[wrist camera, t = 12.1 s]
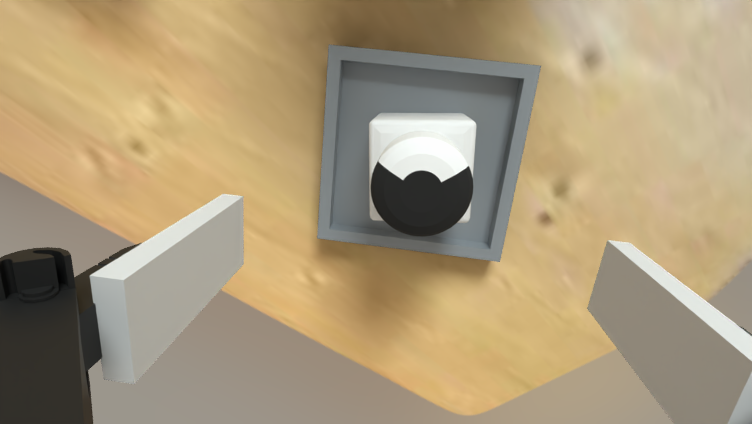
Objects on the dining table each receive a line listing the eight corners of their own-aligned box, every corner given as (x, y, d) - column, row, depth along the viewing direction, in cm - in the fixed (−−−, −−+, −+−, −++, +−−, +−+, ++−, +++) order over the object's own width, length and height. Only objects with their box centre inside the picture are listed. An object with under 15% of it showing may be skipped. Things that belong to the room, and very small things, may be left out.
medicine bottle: (460, 197, 36) (480, 251, 24) (378, 195, 36) (360, 247, 25) (465, 112, 34) (490, 129, 22) (378, 112, 34) (358, 128, 23)
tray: (323, 228, 39) (317, 238, 37) (334, 47, 34) (328, 44, 32) (494, 250, 38) (499, 261, 36) (532, 66, 33) (540, 65, 31)
